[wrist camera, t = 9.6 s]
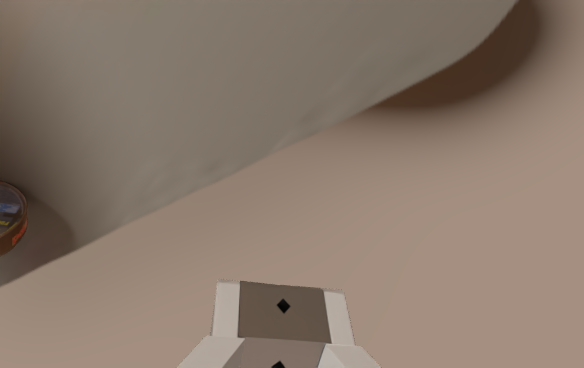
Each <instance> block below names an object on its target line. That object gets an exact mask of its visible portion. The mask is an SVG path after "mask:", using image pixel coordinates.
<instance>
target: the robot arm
mask: <svg viewBox="0 0 584 368" xmlns="http://www.w3.org/2000/svg"><path fill="white" fill-rule="evenodd" d="M177 368H382V367H381V366H380V365H379V364H378V363H377V362H376V361H375V360H374V359H373V358H372V357H371V356H370V355H369V353H368V352H367V351H366V350H365V349H364V348H363V347H362V346H356V345H355V340H354V335H353V331H352V326H351V322H350V317H349V312H348V308H347V303H346V298H345V294H344V292H343V291H342V290H339V289H326V288H313V287H300V286H287V285H273V284H264V283H255V282H247V281H240V282H239V281H233V280H224V279H218V282H217V288H216V295H215V303H214V309H213V317H212V324H211V332H210V336H207V335H206V336H205V337H204V338H203V339H202V340H201V341H200V342H199V343H198V345H197V346H196V347H195V348H194V349H193V350H192V351H191V352H190V353H189V354H188V356H187V357H186V358H185V359H184V360H183V361H182V362H181V363H180V364H179V365H178V366H177Z"/></svg>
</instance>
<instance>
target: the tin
mask: <svg viewBox="0 0 584 368" xmlns="http://www.w3.org/2000/svg"><path fill="white" fill-rule="evenodd" d="M26 211H27V202H26V199H25V197H24V195H23V194H22V193H21V192H20V191H19V190H18V189H17V188H15V187H14V186H12V185H10V184H7V183H5V182H1V181H0V256H2V255H3V254H5V253H7V252H9V251H10V250H11V249H13V248H14V247H15V245H16V244H17V243H18V242H19V241H20V240H21V239H22V237H23V236H24V234H25V232H26V229H27V212H26Z"/></svg>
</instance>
